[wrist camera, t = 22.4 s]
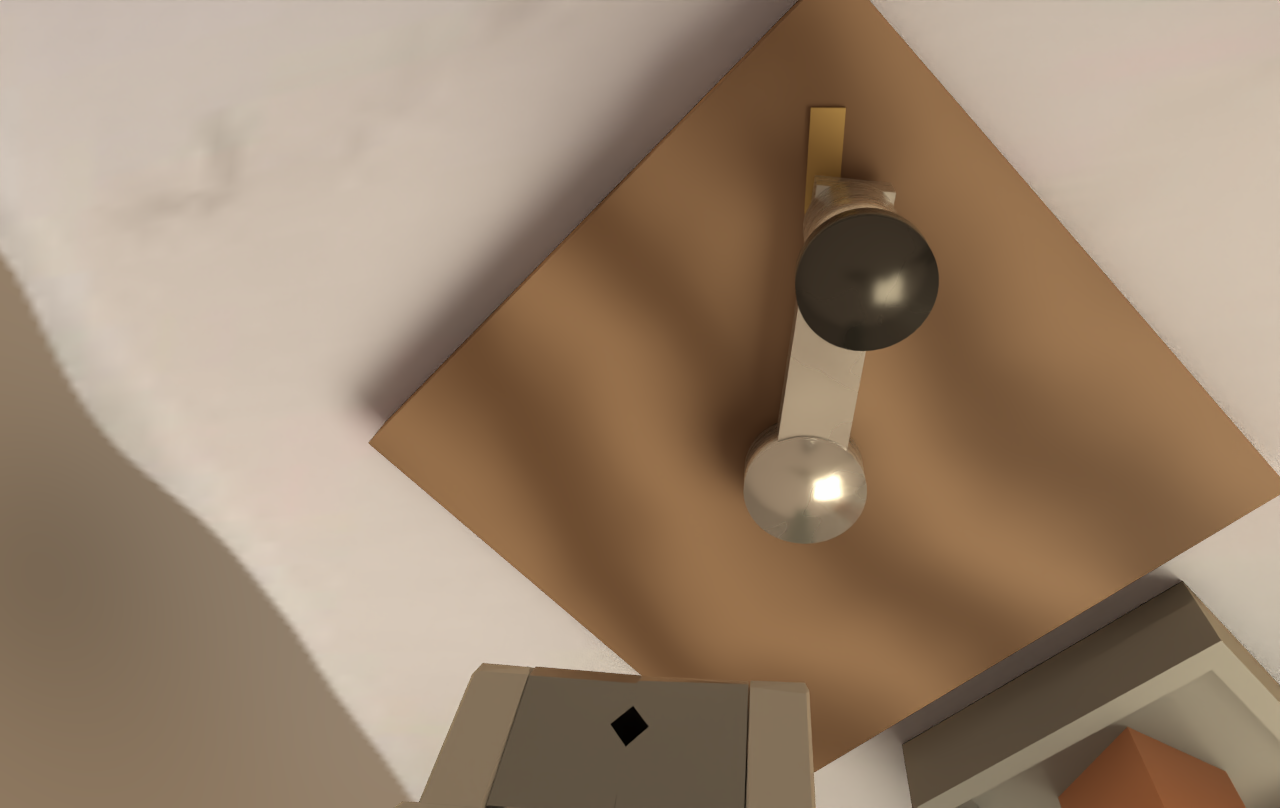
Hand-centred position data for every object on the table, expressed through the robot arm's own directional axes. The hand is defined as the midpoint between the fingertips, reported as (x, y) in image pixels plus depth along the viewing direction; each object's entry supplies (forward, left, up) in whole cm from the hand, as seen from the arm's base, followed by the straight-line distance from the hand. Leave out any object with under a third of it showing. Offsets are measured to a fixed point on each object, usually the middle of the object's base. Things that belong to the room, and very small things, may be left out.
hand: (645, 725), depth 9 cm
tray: (+4, +25, -21) cm, 33 cm away
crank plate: (+4, +7, -21) cm, 23 cm away
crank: (+1, +5, -19) cm, 20 cm away
